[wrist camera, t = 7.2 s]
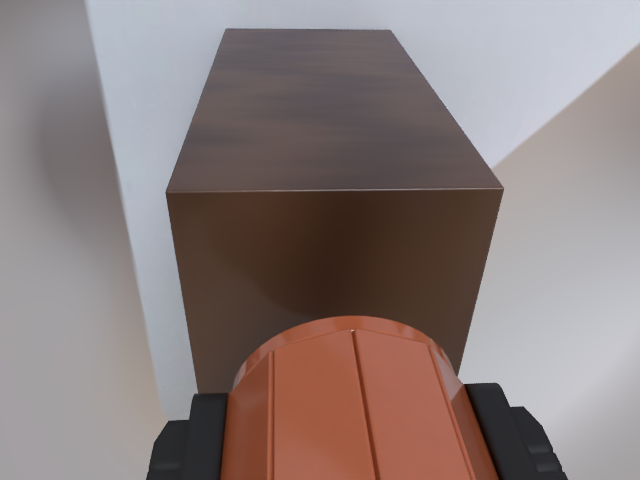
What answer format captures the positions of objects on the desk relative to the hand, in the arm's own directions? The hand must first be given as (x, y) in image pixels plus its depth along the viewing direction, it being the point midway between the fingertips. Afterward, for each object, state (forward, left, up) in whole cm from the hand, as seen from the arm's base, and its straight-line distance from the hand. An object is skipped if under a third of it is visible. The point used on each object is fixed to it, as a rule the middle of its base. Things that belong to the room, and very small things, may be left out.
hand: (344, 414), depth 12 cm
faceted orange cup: (0, 0, 0) cm, 0 cm away
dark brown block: (0, 0, -19) cm, 19 cm away
